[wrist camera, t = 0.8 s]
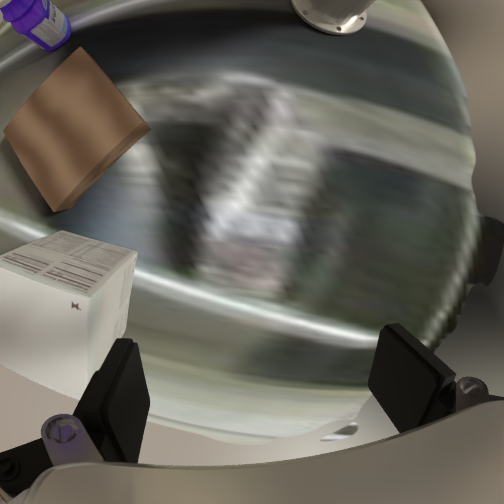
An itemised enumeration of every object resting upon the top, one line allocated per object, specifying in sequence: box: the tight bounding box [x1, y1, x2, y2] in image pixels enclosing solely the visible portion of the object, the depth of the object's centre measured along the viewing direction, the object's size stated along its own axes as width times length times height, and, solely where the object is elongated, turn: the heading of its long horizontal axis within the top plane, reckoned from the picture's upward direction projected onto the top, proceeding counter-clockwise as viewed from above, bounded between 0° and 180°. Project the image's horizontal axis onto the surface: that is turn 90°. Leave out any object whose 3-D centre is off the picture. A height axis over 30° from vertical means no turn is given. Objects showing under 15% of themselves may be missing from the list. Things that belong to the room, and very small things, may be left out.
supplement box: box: [0, 231, 137, 400], centre depth 30 cm, size 13×13×18 cm
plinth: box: [3, 46, 151, 212], centre depth 31 cm, size 16×16×5 cm
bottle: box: [0, 0, 71, 51], centre depth 20 cm, size 7×6×17 cm
